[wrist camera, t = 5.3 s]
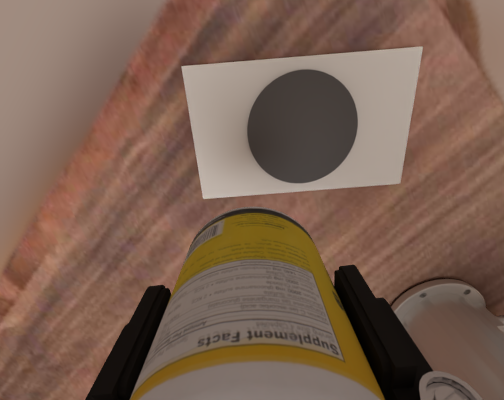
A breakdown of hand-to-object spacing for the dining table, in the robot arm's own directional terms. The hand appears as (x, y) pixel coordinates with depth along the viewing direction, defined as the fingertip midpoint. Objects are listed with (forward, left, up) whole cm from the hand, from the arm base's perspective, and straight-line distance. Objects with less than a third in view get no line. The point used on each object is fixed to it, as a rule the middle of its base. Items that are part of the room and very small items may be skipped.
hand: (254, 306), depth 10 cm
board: (-5, -4, -17) cm, 19 cm away
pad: (-5, -4, -16) cm, 17 cm away
